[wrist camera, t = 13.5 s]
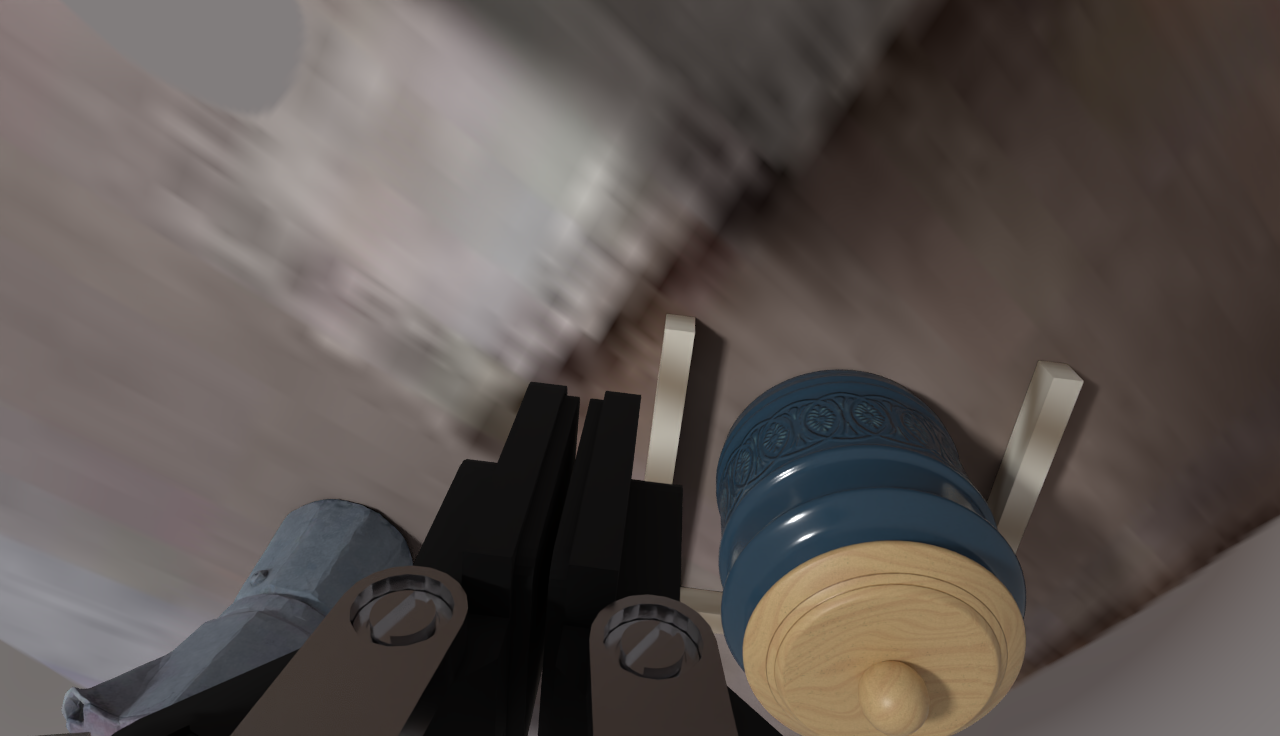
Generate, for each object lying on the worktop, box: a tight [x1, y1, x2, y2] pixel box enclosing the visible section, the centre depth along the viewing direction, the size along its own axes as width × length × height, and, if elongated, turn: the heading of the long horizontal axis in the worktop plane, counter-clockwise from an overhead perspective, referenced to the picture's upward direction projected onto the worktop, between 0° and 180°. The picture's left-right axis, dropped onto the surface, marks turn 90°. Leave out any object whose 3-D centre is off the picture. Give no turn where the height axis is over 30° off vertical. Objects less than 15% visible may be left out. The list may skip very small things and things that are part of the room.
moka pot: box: [62, 499, 413, 736], centre depth 42 cm, size 10×15×20 cm, turn 44°
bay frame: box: [645, 314, 1084, 634], centre depth 46 cm, size 20×21×2 cm
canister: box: [716, 370, 1026, 736], centre depth 38 cm, size 13×13×18 cm
